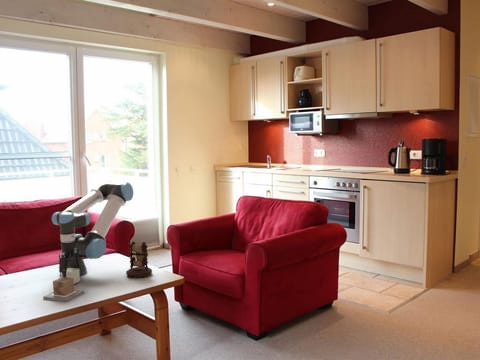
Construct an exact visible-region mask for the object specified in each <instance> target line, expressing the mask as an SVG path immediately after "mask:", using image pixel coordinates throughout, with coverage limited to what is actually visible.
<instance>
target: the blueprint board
mask: <svg viewBox="0 0 480 360" xmlns="http://www.w3.org/2000/svg"><path fill="white" fill-rule="evenodd" d="M83 294H85V289H84V290H83V289H76V288H74V292H72V293H70V294H68V295H66V296H61V295H54V292H53V291H52V292H50V293H47V294H45V295H44V296H43V297H42V298H43V300H45V301H46V300H48V301H56V302H64V303H67V302H69V301H72V300H73V299H76V298H78V297H80V296H81V295H83Z"/></svg>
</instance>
